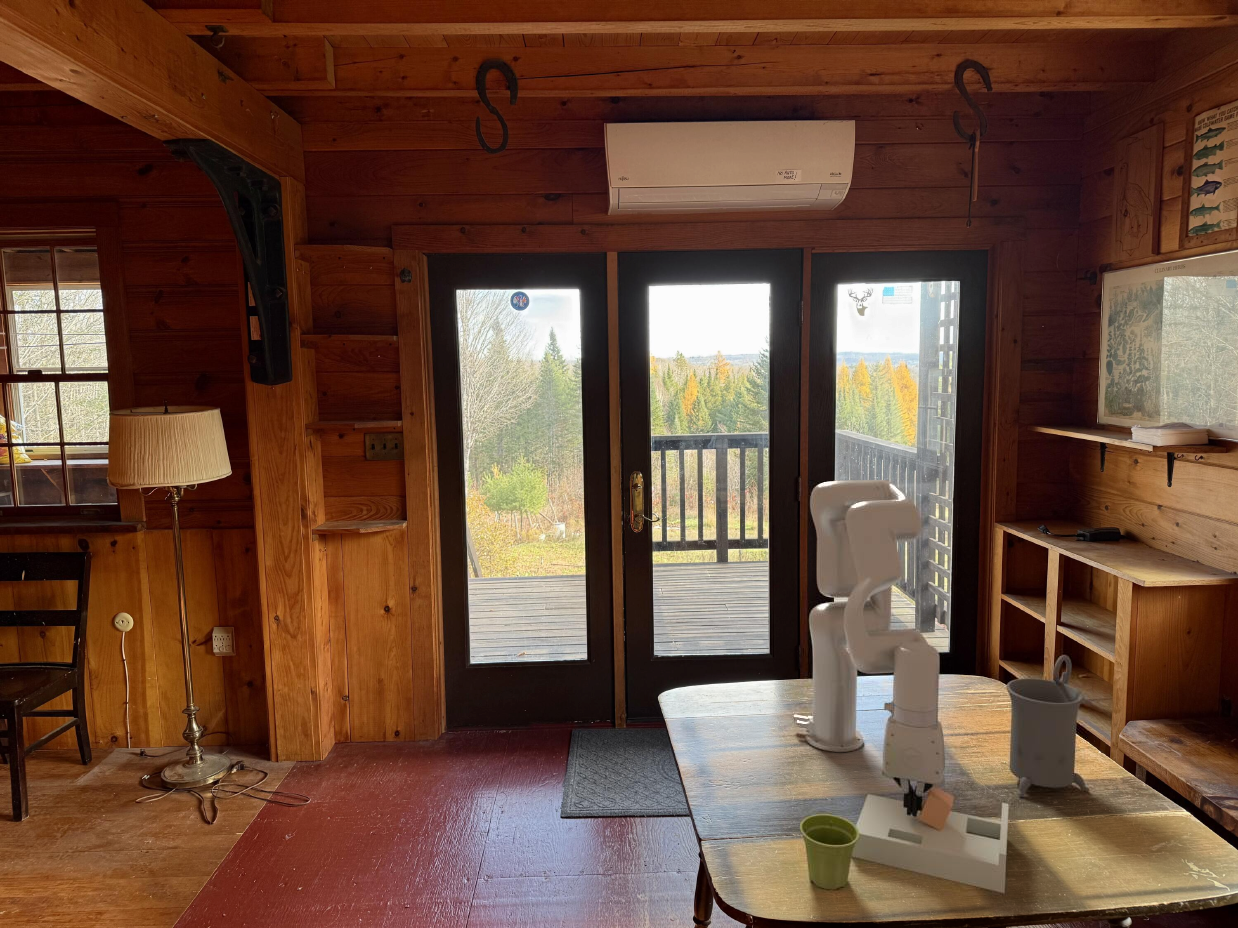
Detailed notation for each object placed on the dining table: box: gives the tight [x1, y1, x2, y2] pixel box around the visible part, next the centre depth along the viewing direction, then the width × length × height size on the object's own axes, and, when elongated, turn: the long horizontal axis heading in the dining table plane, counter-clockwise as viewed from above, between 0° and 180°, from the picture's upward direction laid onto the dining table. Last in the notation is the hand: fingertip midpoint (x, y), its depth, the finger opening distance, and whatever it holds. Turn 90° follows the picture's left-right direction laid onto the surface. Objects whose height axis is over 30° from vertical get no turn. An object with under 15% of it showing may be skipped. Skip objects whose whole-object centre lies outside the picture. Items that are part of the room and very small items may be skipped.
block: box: [919, 788, 955, 831], centre depth 146 cm, size 4×4×5 cm
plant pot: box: [799, 813, 859, 891], centre depth 136 cm, size 9×9×9 cm
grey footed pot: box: [1005, 654, 1090, 798], centre depth 165 cm, size 19×15×25 cm
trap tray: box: [852, 793, 1009, 894], centre depth 144 cm, size 24×17×6 cm
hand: (912, 812), depth 148 cm, fingers closed
